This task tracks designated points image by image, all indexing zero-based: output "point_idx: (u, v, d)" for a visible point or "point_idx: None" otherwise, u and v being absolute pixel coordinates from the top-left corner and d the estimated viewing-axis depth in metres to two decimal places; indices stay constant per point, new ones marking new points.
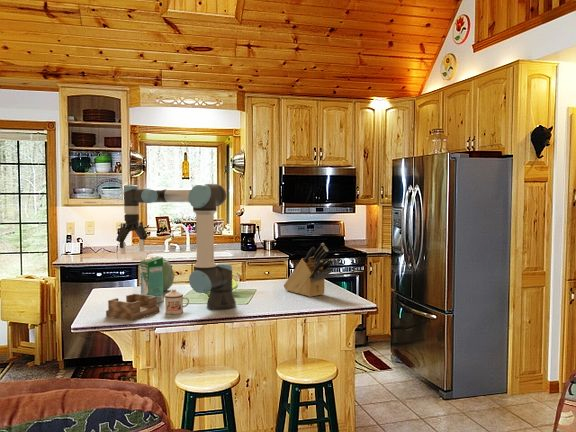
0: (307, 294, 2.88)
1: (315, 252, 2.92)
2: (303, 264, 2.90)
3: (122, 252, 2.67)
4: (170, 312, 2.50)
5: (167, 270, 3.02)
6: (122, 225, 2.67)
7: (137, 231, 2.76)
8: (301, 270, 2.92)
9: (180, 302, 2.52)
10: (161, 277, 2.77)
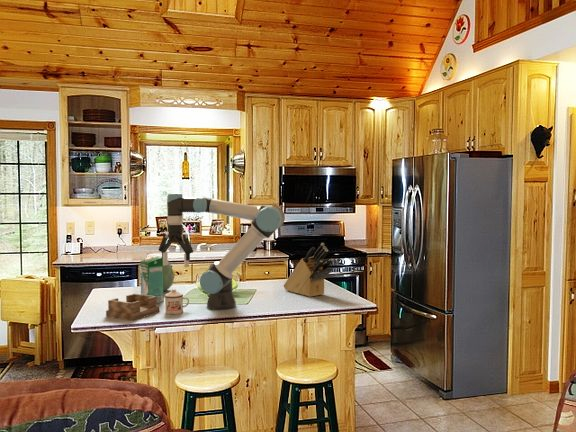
0: (307, 294, 2.88)
1: (315, 252, 2.92)
2: (303, 264, 2.90)
3: None
4: (170, 312, 2.50)
5: (167, 270, 3.02)
6: None
7: None
8: (300, 270, 2.92)
9: (180, 302, 2.52)
10: (161, 277, 2.77)
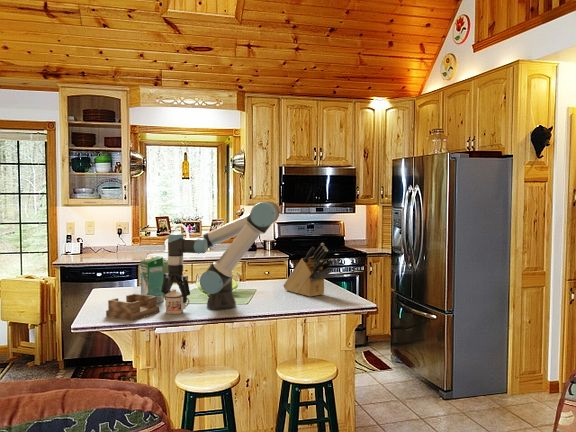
0: (307, 294, 2.88)
1: (315, 252, 2.92)
2: (303, 264, 2.90)
3: None
4: (170, 312, 2.50)
5: (167, 270, 3.02)
6: None
7: None
8: (300, 270, 2.92)
9: (180, 302, 2.52)
10: (161, 277, 2.77)
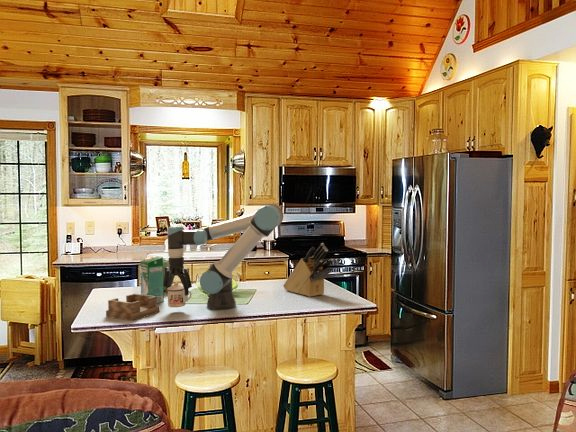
0: (307, 294, 2.89)
1: (315, 252, 2.92)
2: (303, 264, 2.90)
3: None
4: (173, 305, 2.49)
5: None
6: None
7: None
8: (300, 270, 2.92)
9: None
10: (161, 277, 2.77)
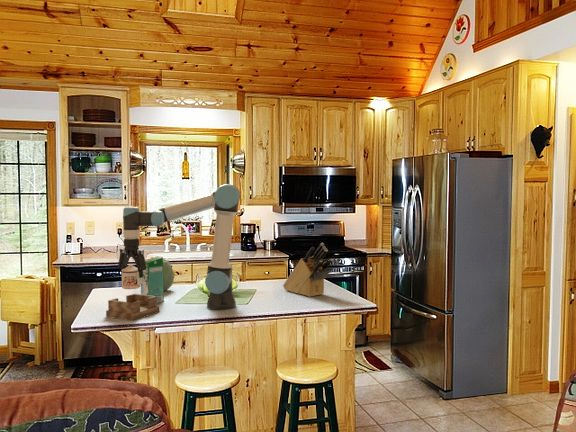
0: (306, 294, 2.89)
1: None
2: (302, 264, 2.90)
3: None
4: (126, 287, 2.45)
5: (167, 270, 3.02)
6: None
7: None
8: (300, 269, 2.92)
9: None
10: (161, 277, 2.77)
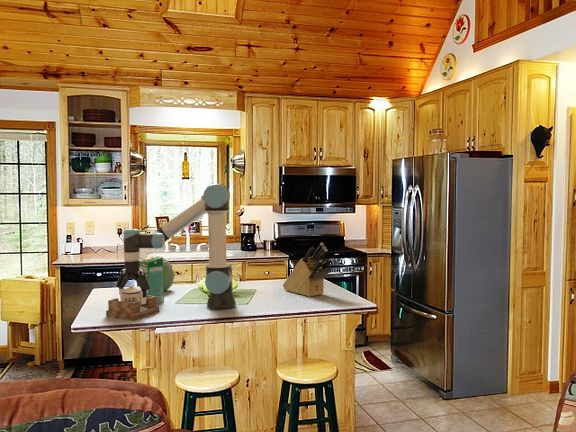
0: (306, 294, 2.89)
1: (314, 252, 2.92)
2: (302, 264, 2.90)
3: None
4: None
5: (167, 270, 3.02)
6: None
7: None
8: (300, 269, 2.92)
9: (137, 298, 2.47)
10: (161, 277, 2.77)
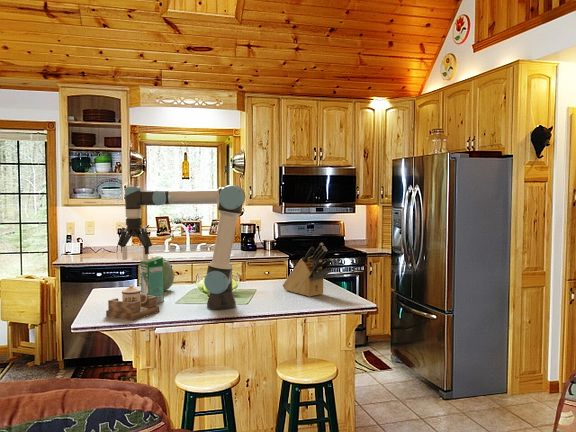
0: (306, 294, 2.89)
1: (314, 252, 2.93)
2: (302, 264, 2.90)
3: None
4: None
5: (167, 270, 3.02)
6: None
7: None
8: (300, 269, 2.93)
9: (137, 298, 2.47)
10: (161, 277, 2.77)
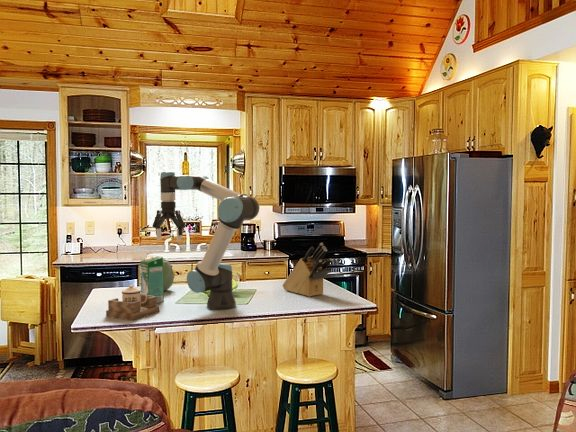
0: (306, 294, 2.89)
1: (314, 252, 2.93)
2: (302, 264, 2.91)
3: None
4: None
5: (167, 270, 3.02)
6: None
7: None
8: (299, 269, 2.93)
9: (137, 298, 2.47)
10: (161, 277, 2.77)
